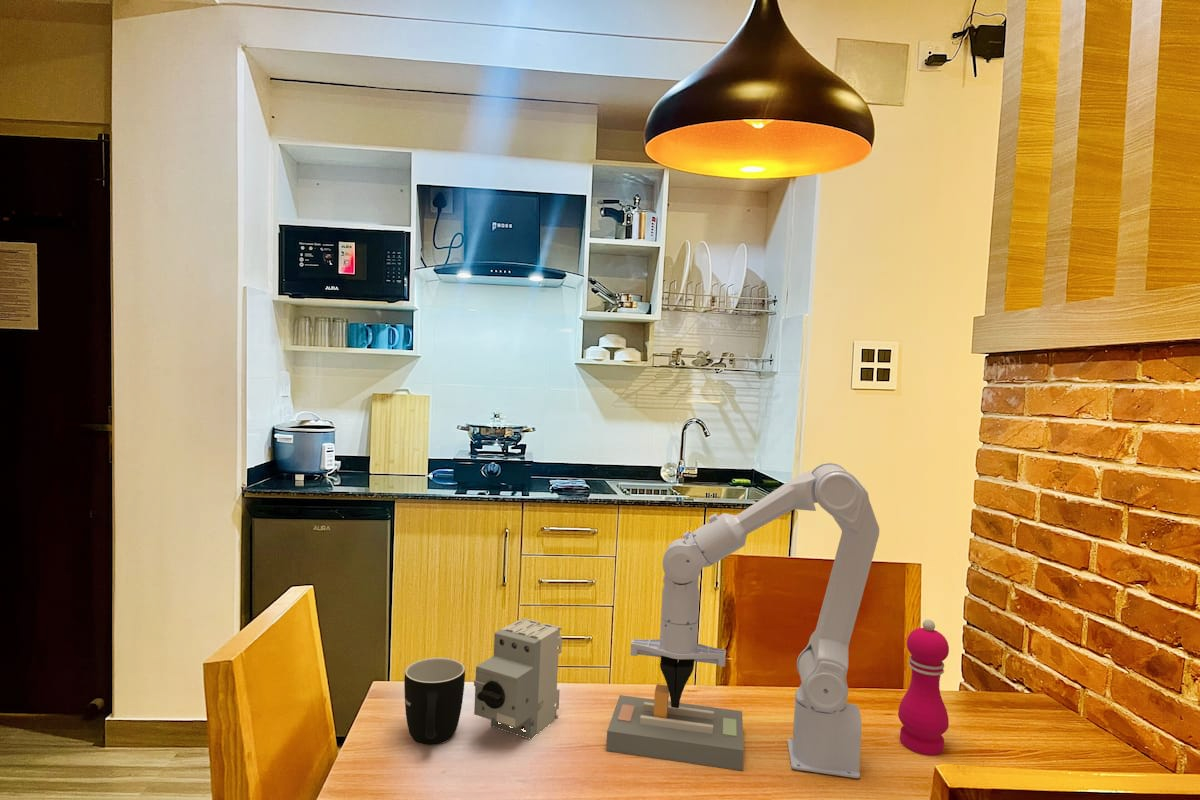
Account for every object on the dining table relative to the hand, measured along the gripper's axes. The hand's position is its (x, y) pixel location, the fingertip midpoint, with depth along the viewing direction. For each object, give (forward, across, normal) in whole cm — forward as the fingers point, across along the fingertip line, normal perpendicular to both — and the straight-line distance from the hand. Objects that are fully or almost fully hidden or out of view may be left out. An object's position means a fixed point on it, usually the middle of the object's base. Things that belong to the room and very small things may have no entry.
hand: (675, 704), depth 106 cm
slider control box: (+5, 0, 0) cm, 5 cm away
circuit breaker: (+6, +25, +4) cm, 26 cm away
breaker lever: (+2, +2, 0) cm, 3 cm away
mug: (+6, +36, +10) cm, 37 cm away
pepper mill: (+6, -38, -9) cm, 40 cm away
